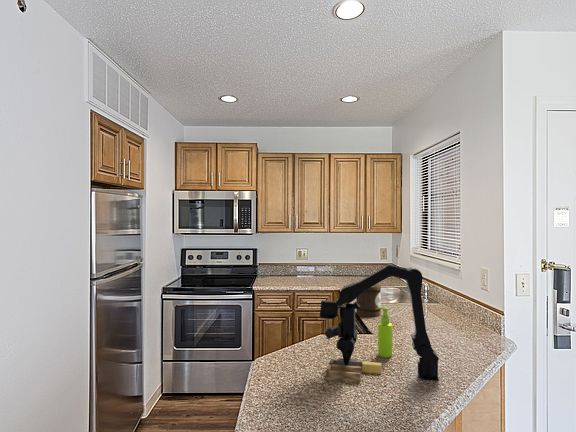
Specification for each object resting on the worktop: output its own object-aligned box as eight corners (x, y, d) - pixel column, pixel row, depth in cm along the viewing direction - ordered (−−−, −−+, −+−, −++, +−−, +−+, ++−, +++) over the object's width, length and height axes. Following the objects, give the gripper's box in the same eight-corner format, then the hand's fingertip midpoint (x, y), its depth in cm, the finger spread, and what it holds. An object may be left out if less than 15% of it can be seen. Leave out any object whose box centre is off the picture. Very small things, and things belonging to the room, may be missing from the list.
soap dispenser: (379, 351, 181) (379, 305, 182) (394, 354, 177) (394, 307, 177) (373, 354, 177) (373, 307, 177) (388, 358, 172) (388, 309, 173)
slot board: (362, 369, 159) (362, 360, 159) (360, 382, 146) (360, 373, 146) (331, 366, 162) (331, 357, 162) (326, 379, 148) (326, 370, 149)
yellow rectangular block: (381, 371, 158) (381, 362, 158) (381, 374, 155) (381, 365, 155) (362, 369, 159) (362, 361, 159) (362, 372, 156) (362, 364, 156)
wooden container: (383, 317, 248) (383, 280, 248) (358, 317, 248) (358, 280, 248) (378, 311, 263) (378, 277, 263) (354, 311, 263) (354, 276, 263)
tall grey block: (356, 367, 158) (356, 359, 158) (356, 370, 155) (356, 361, 155) (338, 366, 159) (338, 358, 159) (337, 369, 156) (337, 360, 156)
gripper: (329, 313, 168) (329, 352, 168) (322, 324, 150) (322, 367, 150) (357, 314, 166) (357, 354, 165) (353, 326, 147) (353, 370, 147)
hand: (347, 361), depth 157 cm, fingers open, 9 cm apart
